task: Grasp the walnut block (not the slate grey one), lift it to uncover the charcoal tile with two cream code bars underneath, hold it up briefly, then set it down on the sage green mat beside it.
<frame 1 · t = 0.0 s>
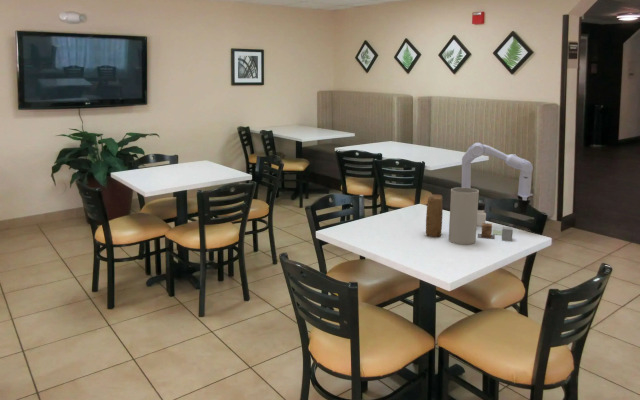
hand: (522, 211, 272), 10 cm above the table, tool pointing down, fingers open, 7 cm apart
code tile: (486, 236, 263), on the table
walnut block: (486, 236, 263), resting on code tile
slate block: (506, 240, 258), on the table
medicine bottle: (476, 225, 285), on the table, touching arm
sage mat: (500, 233, 268), on the table
cylinder vase: (461, 241, 256), on the table
block: (433, 234, 267), on the table
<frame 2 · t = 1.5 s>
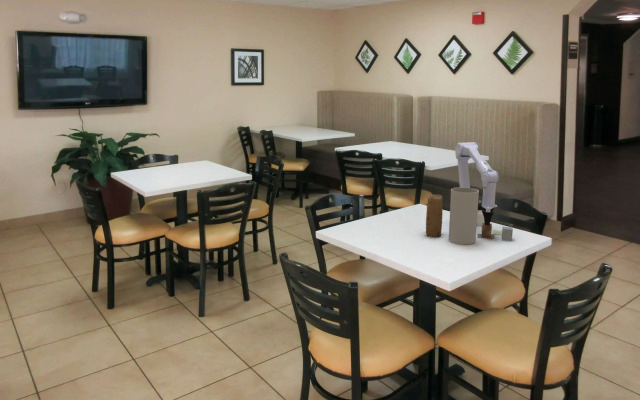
hand: (487, 223, 261), 7 cm above the table, tool pointing down, fingers open, 7 cm apart
nothing on the table moved.
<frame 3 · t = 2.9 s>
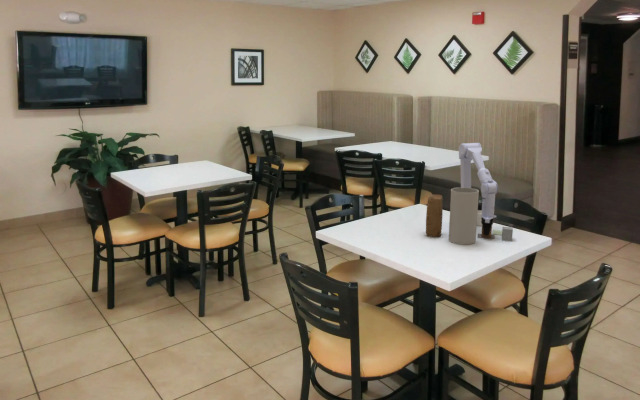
hand: (486, 233, 262), 2 cm above the table, tool pointing down, fingers closed on walnut block, 4 cm apart
walnut block: (486, 236, 263), resting on code tile, touching gripper
everything else where it was.
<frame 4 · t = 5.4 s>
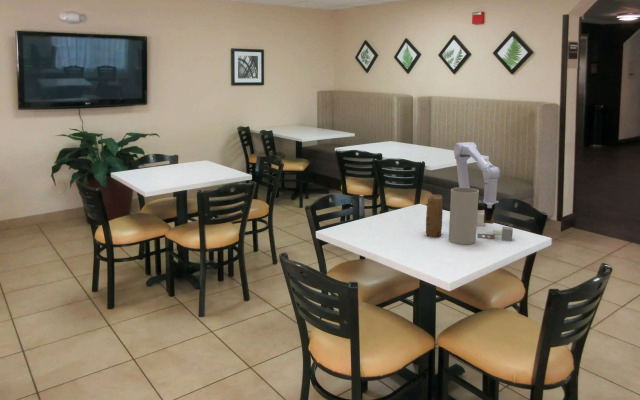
hand: (488, 219, 261), 9 cm above the table, tool pointing down, fingers closed on walnut block, 4 cm apart
walnut block: (488, 222, 262), point 7 cm above the table, touching gripper
everything else where it was.
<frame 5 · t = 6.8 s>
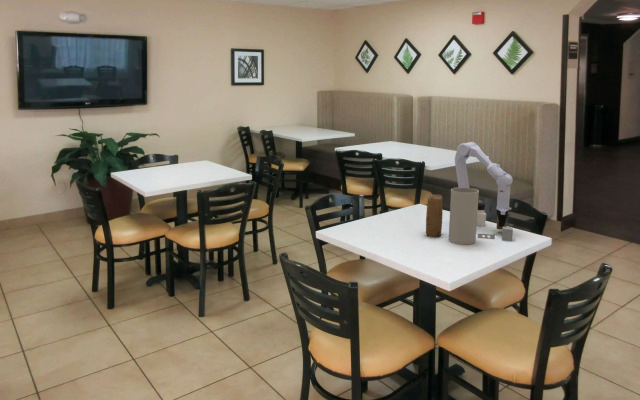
hand: (501, 225, 267), 4 cm above the table, tool pointing down, fingers closed on walnut block, 4 cm apart
walnut block: (501, 228, 268), point 3 cm above the table, touching gripper
everything else where it was.
when the fingers open (3 cm above the table, at t = 7.9 s): walnut block drops 1 cm, resting on sage mat.
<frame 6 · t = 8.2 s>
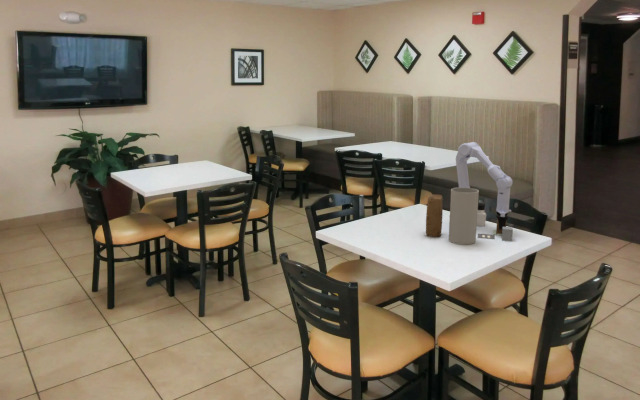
hand: (501, 227, 268), 3 cm above the table, tool pointing down, fingers open, 7 cm apart
walnut block: (500, 232, 268), resting on sage mat
everything else where it was.
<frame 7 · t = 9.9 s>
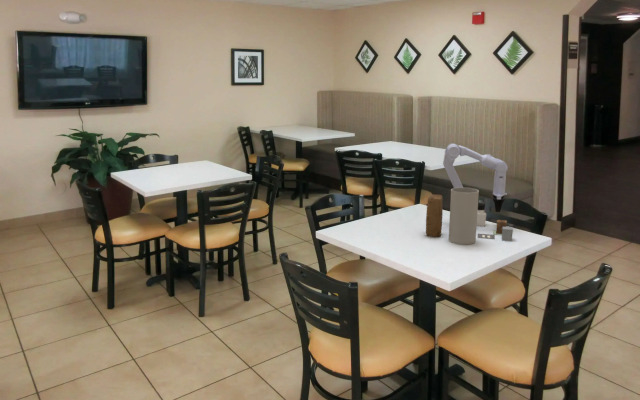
hand: (497, 210, 277), 9 cm above the table, tool pointing down, fingers open, 7 cm apart
nothing on the table moved.
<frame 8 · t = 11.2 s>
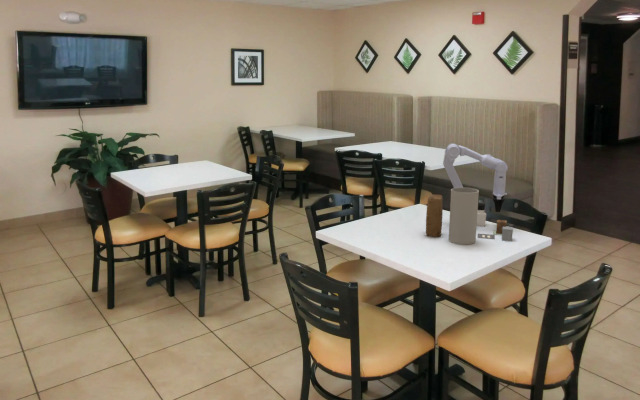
hand: (497, 210, 277), 9 cm above the table, tool pointing down, fingers open, 7 cm apart
nothing on the table moved.
at the end: walnut block 0.0 cm off-centre on the sage mat, point 0.5 cm above the sage mat's base; walnut block tilted 0°; slate block moved 0.1 cm from its start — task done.
